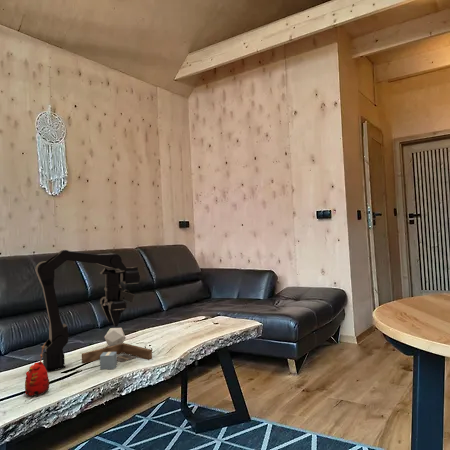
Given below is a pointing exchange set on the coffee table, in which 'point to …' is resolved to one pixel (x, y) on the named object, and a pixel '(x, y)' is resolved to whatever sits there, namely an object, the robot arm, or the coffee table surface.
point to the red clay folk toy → (37, 379)
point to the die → (115, 336)
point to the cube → (108, 360)
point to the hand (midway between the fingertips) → (113, 324)
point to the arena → (119, 349)
